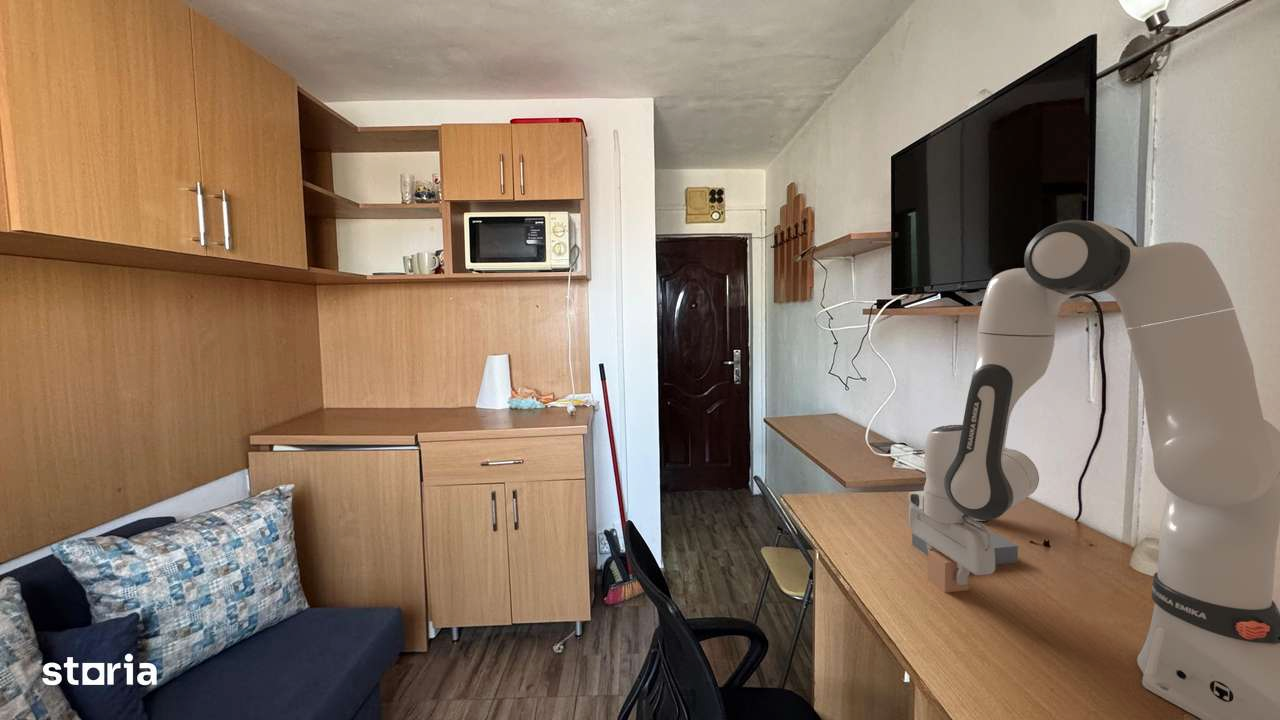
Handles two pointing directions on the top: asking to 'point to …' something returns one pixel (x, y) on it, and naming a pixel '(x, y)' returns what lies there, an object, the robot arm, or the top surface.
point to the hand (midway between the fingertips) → (948, 574)
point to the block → (944, 572)
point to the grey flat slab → (1002, 547)
